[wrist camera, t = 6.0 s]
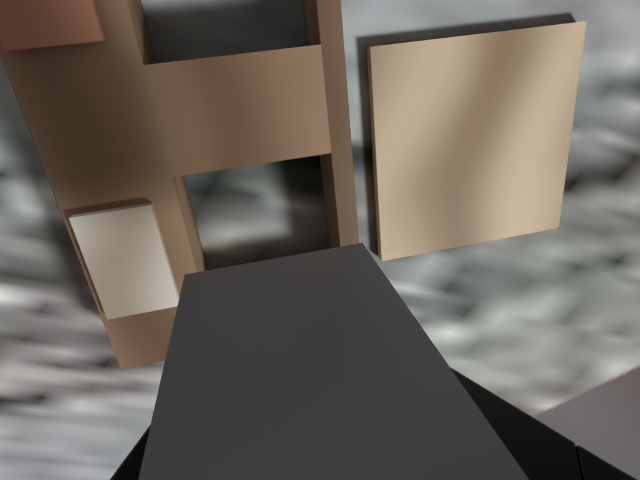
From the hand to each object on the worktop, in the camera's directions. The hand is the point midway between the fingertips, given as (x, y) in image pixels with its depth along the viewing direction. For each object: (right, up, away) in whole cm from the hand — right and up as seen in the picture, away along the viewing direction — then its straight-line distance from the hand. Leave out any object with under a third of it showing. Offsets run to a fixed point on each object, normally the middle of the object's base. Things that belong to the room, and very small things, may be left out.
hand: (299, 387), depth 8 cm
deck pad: (+7, +7, +10) cm, 14 cm away
